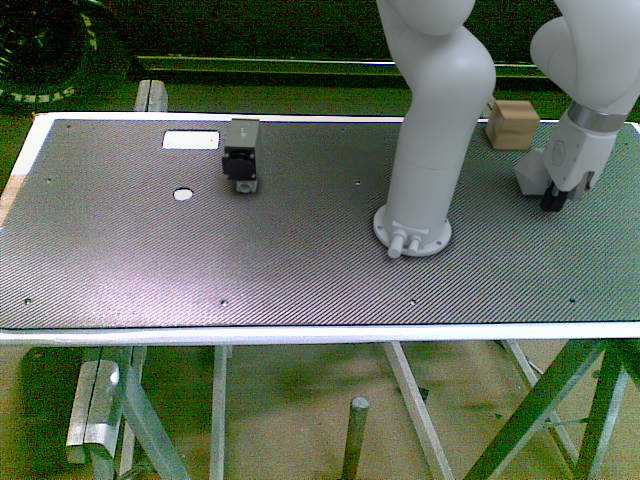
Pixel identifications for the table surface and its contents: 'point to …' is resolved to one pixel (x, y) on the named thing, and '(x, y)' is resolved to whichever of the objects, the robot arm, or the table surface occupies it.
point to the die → (532, 173)
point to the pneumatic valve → (242, 153)
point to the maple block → (512, 124)
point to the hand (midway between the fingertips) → (549, 208)
